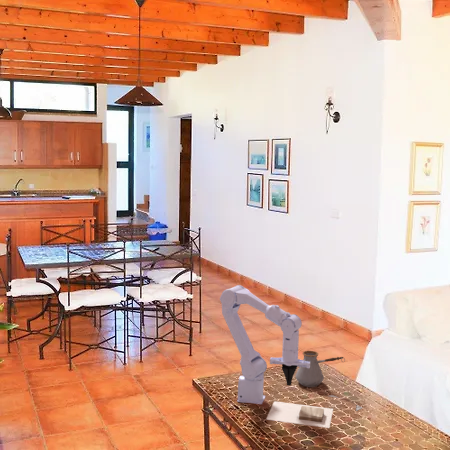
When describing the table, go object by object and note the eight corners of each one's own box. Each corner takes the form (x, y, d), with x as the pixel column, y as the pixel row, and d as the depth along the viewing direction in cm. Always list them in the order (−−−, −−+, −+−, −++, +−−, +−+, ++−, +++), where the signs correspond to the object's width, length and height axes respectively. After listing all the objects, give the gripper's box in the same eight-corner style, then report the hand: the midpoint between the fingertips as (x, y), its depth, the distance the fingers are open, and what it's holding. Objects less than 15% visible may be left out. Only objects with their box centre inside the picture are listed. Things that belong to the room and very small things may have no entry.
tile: (299, 413, 209) (321, 416, 207) (301, 405, 215) (323, 408, 213) (298, 419, 209) (321, 422, 207) (301, 411, 216) (323, 414, 214)
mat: (266, 420, 208) (266, 419, 208) (274, 402, 224) (274, 401, 224) (329, 429, 203) (329, 427, 203) (333, 410, 218) (333, 408, 218)
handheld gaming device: (331, 394, 232) (363, 406, 221) (331, 395, 232) (363, 408, 221) (316, 399, 226) (348, 413, 215) (316, 401, 226) (348, 415, 215)
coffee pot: (289, 383, 243) (290, 348, 241) (305, 376, 251) (306, 341, 250) (334, 398, 229) (336, 361, 227) (350, 390, 237) (351, 353, 235)
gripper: (268, 350, 214) (267, 386, 215) (308, 354, 210) (307, 391, 212) (272, 344, 220) (271, 379, 222) (311, 348, 217) (309, 383, 218)
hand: (289, 384), depth 217 cm, fingers closed
